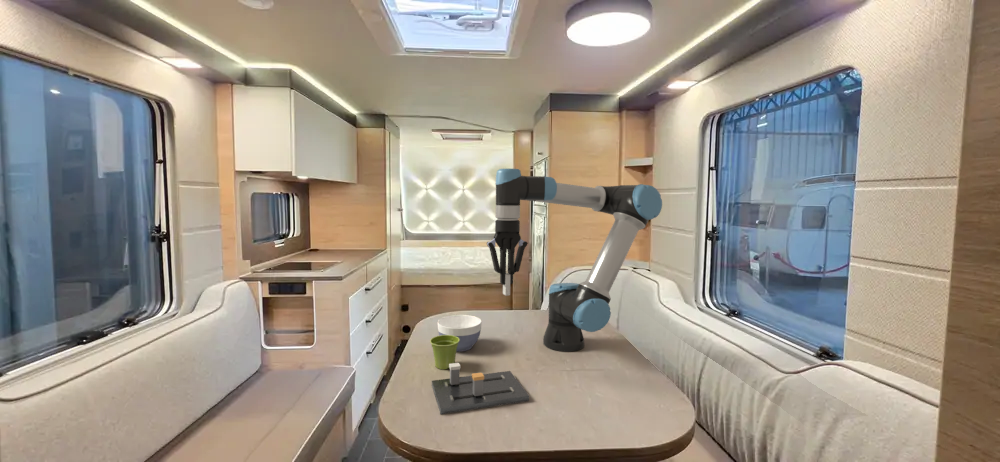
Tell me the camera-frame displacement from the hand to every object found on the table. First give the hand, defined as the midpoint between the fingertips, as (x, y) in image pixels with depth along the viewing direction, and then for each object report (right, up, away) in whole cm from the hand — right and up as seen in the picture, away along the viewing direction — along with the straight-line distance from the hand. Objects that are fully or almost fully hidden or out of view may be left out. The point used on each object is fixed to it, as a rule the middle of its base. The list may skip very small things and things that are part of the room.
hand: (506, 294), depth 126 cm
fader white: (-15, -23, -12) cm, 30 cm away
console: (-8, -26, -13) cm, 30 cm away
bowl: (-17, -23, +21) cm, 35 cm away
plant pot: (-20, -24, +4) cm, 32 cm away
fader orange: (-8, -24, -18) cm, 31 cm away
